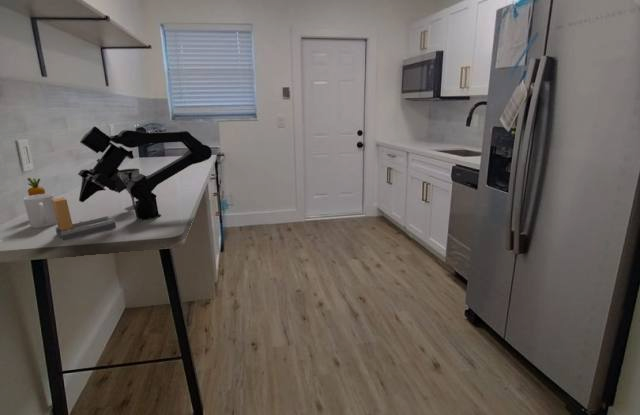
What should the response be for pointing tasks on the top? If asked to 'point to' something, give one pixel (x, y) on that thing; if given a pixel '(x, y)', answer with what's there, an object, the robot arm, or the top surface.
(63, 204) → the fader tab
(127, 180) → the wine glass
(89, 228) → the rail
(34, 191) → the carrot
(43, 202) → the cup
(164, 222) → the top surface
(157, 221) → the top surface
